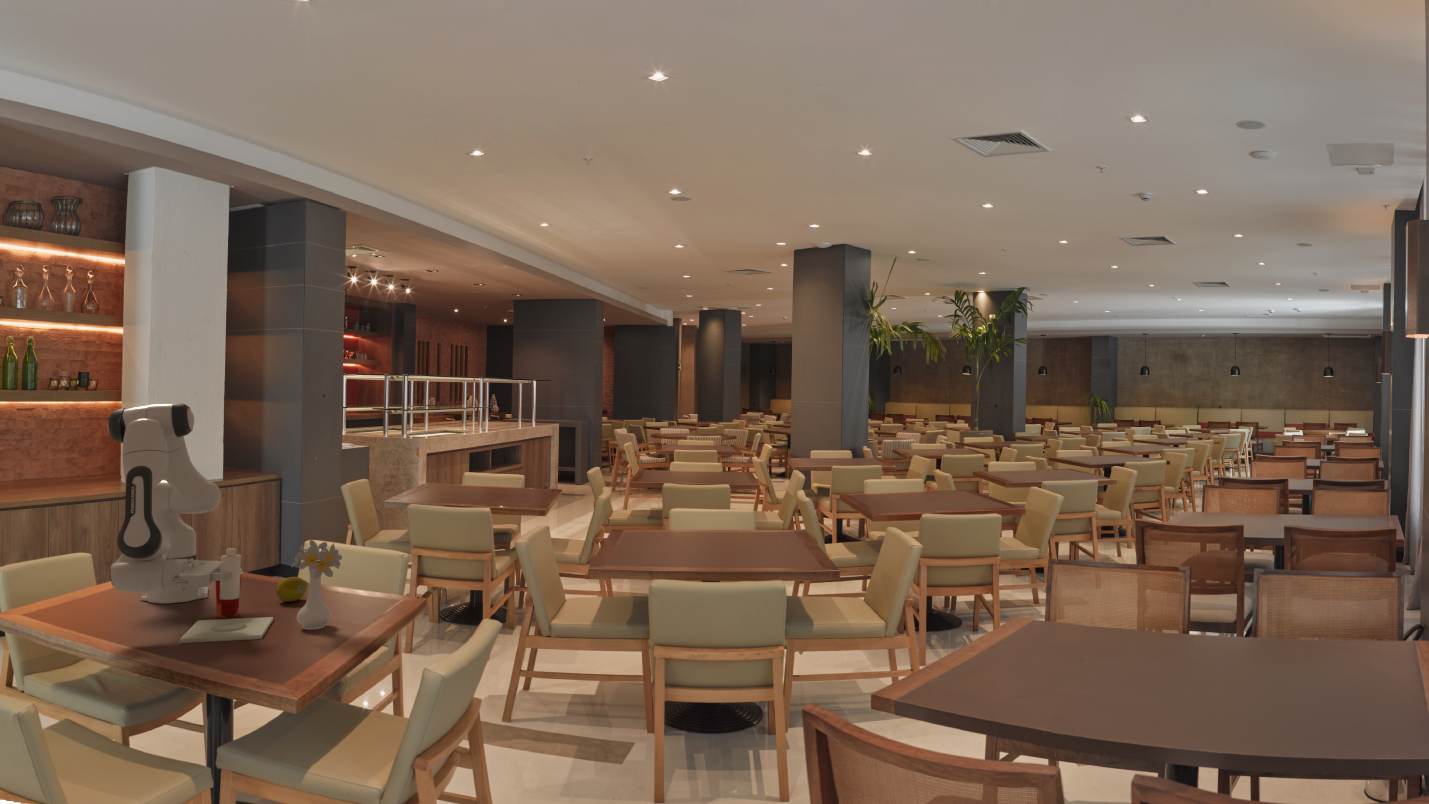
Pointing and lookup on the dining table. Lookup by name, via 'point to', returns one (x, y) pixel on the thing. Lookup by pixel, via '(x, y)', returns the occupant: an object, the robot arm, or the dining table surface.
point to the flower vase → (316, 583)
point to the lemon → (291, 589)
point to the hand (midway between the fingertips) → (233, 573)
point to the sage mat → (227, 629)
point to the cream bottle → (232, 564)
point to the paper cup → (226, 603)
